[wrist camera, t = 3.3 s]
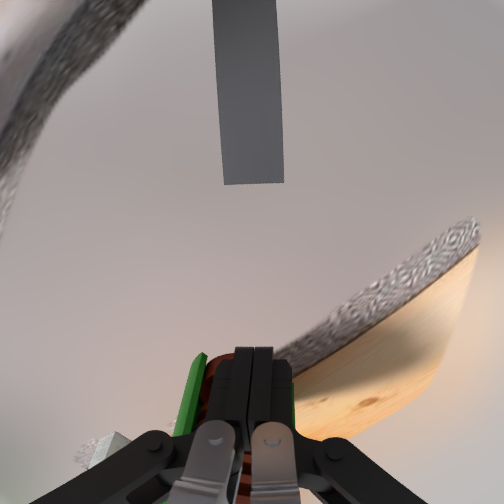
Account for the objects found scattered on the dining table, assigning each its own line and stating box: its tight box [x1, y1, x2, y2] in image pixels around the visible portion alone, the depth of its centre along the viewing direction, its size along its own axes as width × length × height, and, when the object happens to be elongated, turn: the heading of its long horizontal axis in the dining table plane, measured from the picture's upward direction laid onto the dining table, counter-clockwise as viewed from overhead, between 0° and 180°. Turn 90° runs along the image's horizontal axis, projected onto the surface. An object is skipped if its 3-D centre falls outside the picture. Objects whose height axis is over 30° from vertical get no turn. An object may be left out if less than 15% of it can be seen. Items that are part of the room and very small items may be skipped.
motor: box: [162, 352, 295, 504], centre depth 22 cm, size 10×9×20 cm
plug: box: [212, 0, 284, 185], centre depth 15 cm, size 17×4×5 cm, turn 3°
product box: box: [88, 431, 132, 469], centre depth 37 cm, size 6×6×7 cm
